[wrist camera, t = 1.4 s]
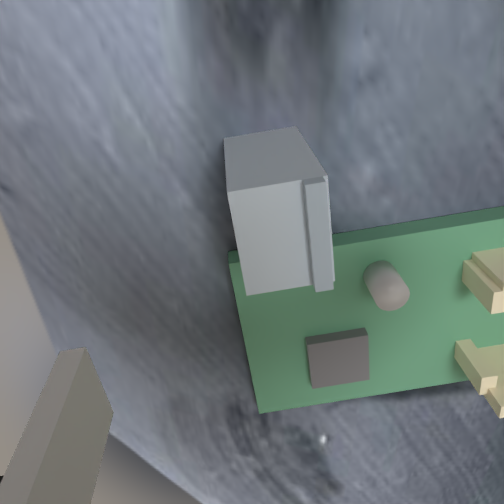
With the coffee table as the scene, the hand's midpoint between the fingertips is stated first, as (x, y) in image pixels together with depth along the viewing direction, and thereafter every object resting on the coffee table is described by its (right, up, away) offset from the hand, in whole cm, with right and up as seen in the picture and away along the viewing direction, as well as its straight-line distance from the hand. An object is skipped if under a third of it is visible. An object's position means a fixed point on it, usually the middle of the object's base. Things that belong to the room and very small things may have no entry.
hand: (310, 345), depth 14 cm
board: (+10, -1, +18) cm, 20 cm away
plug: (-1, +7, +12) cm, 14 cm away
